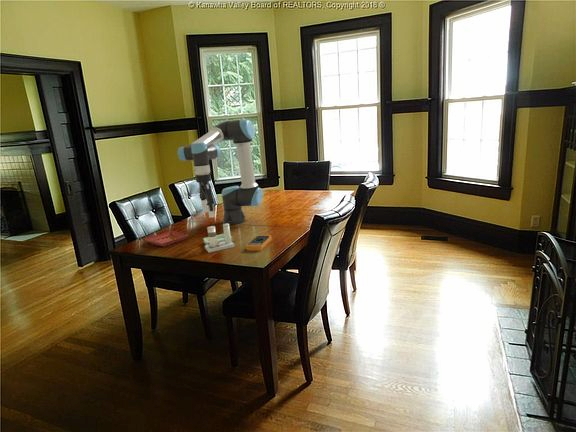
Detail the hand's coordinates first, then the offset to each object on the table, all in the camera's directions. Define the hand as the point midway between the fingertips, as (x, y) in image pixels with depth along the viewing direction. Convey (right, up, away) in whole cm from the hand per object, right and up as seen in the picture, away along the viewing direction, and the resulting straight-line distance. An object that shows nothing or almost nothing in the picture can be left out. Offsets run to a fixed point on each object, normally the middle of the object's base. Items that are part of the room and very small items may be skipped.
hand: (208, 214), depth 194 cm
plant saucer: (-29, -16, +25) cm, 42 cm away
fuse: (+9, -17, +8) cm, 21 cm away
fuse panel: (+5, -18, +6) cm, 19 cm away
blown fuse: (+2, -18, +5) cm, 19 cm away
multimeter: (+26, -17, +5) cm, 31 cm away
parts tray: (+2, -15, +16) cm, 22 cm away
